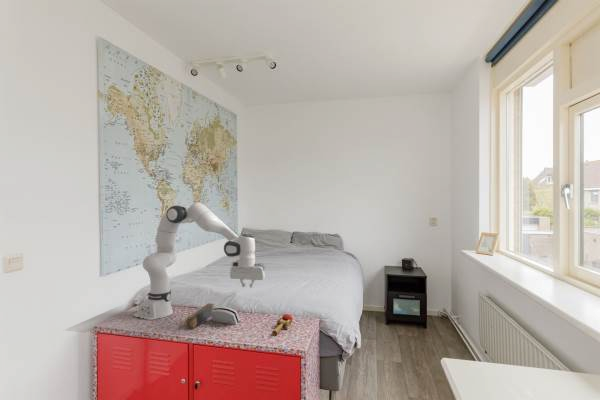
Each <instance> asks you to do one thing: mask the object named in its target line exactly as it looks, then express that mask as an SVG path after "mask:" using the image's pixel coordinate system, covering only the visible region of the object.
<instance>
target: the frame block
mask: <svg viewBox="0 0 600 400" xmlns="http://www.w3.org/2000/svg"><path fill="white" fill-rule="evenodd" d="M211 304H212V310H213V309H214V308H215V303H207V304H205V305H204V306H202V307H200V308H199V309H198V310H196V311H195V312H193V313H192V314H190V315H189V316H187V317H186V320H185V321H186V330H195V329H196V328H197V314H198V313H199V312H201V311H202V310H204V309H205V308H206V307H208V306H209V305H211Z"/></svg>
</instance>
